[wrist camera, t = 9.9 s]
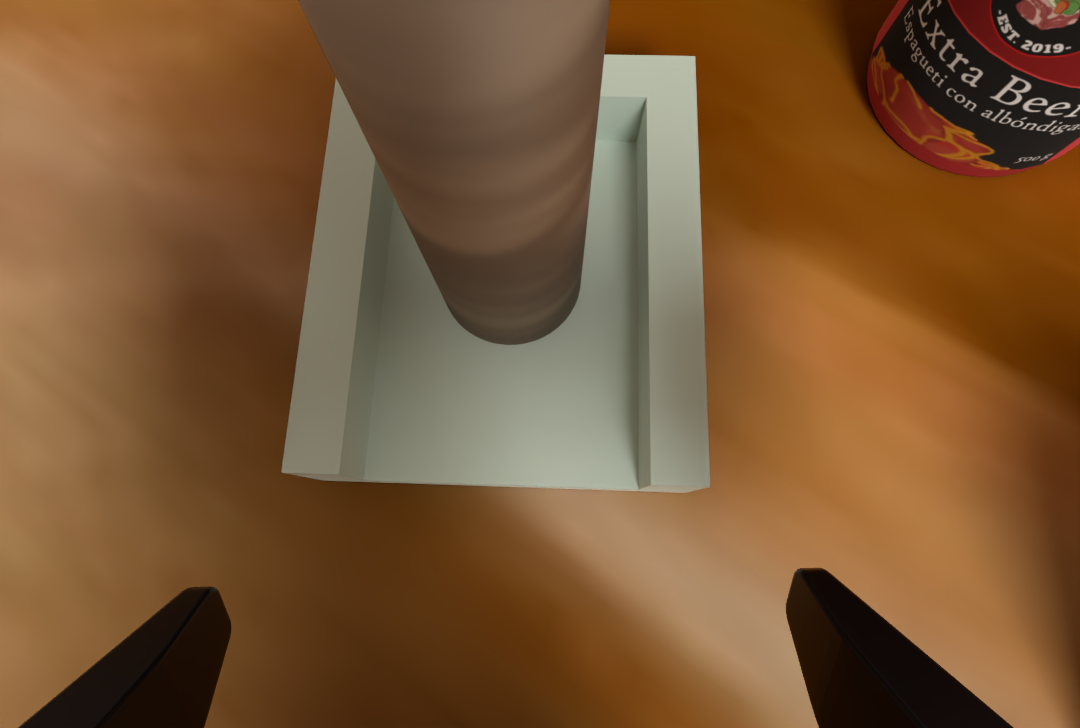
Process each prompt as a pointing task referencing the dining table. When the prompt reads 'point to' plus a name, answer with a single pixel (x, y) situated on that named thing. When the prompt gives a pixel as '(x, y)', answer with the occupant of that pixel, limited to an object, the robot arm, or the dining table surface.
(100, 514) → the dining table surface
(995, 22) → the canned food
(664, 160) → the tray
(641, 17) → the dining table surface
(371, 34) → the brown round cylinder
